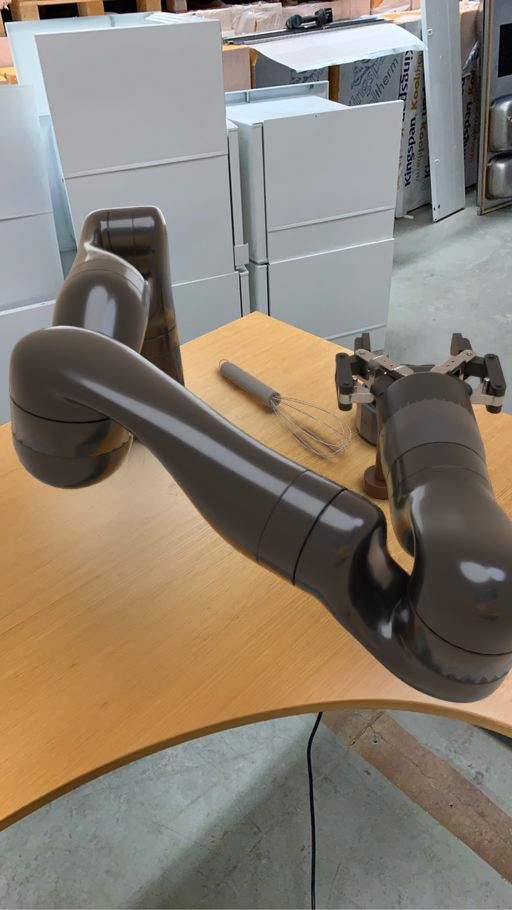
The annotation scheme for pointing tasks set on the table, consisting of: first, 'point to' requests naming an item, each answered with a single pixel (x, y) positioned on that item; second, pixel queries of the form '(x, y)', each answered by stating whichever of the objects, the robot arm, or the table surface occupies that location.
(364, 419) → the bowl
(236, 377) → the kitchen whisk
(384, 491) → the brown peg stand
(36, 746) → the table surface
